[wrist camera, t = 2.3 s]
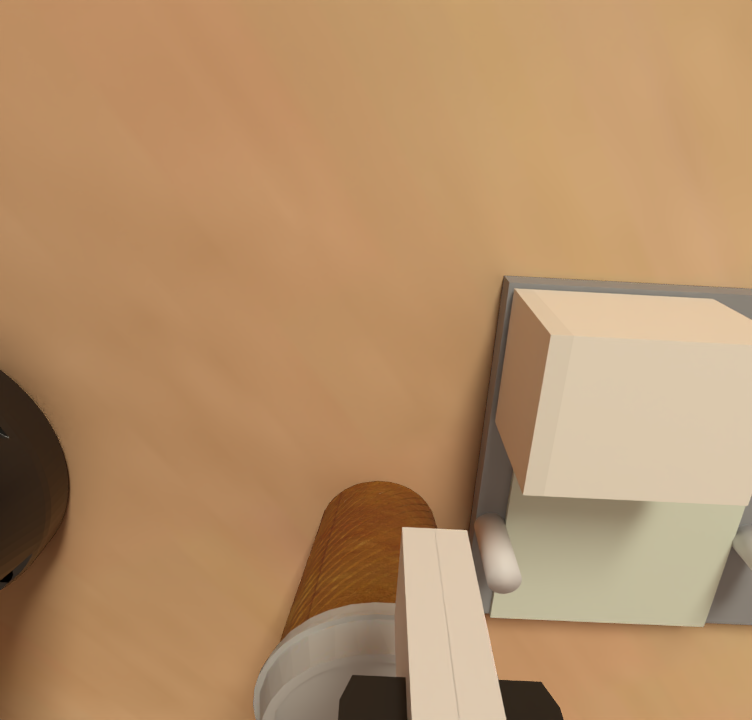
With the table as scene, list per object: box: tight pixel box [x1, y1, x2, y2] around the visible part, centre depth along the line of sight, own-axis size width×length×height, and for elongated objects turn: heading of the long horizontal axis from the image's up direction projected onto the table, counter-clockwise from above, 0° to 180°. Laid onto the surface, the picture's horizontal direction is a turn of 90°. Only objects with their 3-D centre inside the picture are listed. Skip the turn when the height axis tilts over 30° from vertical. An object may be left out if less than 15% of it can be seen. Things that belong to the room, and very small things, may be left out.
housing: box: [495, 288, 752, 506], centre depth 25 cm, size 9×7×6 cm
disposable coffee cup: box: [253, 481, 499, 720], centre depth 27 cm, size 10×10×12 cm
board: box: [468, 276, 752, 627], centre depth 29 cm, size 21×19×5 cm
